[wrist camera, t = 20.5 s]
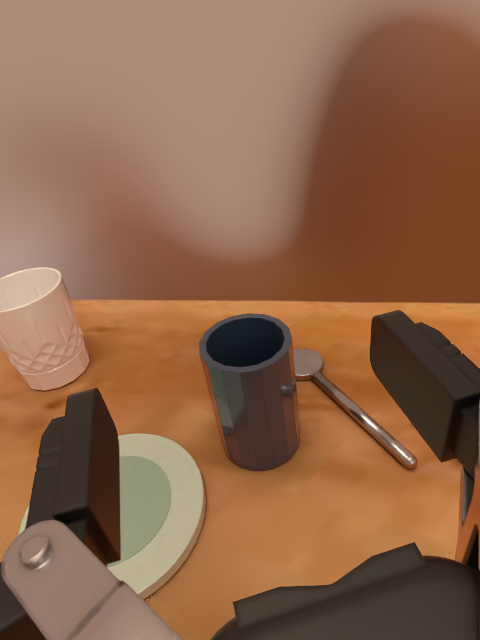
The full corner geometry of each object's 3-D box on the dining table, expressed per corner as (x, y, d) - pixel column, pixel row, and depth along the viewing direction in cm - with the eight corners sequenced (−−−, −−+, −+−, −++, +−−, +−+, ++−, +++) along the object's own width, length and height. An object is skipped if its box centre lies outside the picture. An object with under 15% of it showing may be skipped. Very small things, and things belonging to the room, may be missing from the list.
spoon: (394, 483, 30) (395, 475, 29) (274, 364, 42) (273, 356, 41) (434, 457, 31) (435, 448, 31) (307, 348, 43) (306, 340, 42)
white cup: (21, 359, 48) (-23, 282, 42) (92, 336, 50) (59, 259, 44) (18, 406, 42) (-34, 323, 36) (99, 378, 44) (63, 294, 38)
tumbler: (245, 485, 31) (224, 386, 26) (210, 430, 36) (185, 335, 30) (315, 445, 33) (310, 345, 28) (273, 398, 38) (261, 303, 32)
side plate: (33, 668, 24) (25, 661, 23) (14, 491, 34) (8, 483, 33) (238, 542, 28) (236, 533, 28) (168, 417, 38) (165, 408, 37)
